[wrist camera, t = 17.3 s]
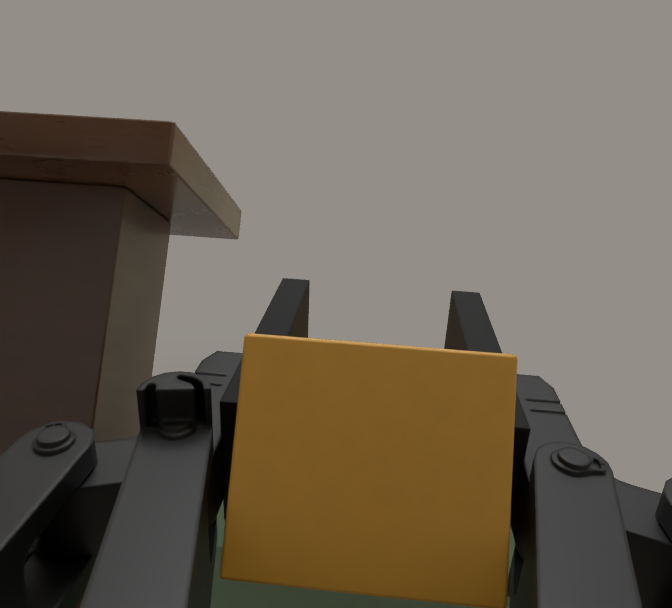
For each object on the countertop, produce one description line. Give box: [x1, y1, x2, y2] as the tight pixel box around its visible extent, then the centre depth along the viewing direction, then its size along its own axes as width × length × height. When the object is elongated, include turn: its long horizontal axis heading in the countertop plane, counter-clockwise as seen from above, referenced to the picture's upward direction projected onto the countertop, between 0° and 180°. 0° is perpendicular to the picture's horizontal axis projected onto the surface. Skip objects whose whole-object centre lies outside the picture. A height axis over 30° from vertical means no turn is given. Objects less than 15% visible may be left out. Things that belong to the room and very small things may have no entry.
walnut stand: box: [0, 111, 241, 608], centre depth 22 cm, size 10×10×30 cm
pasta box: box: [220, 333, 517, 608], centre depth 19 cm, size 22×4×4 cm, turn 177°
